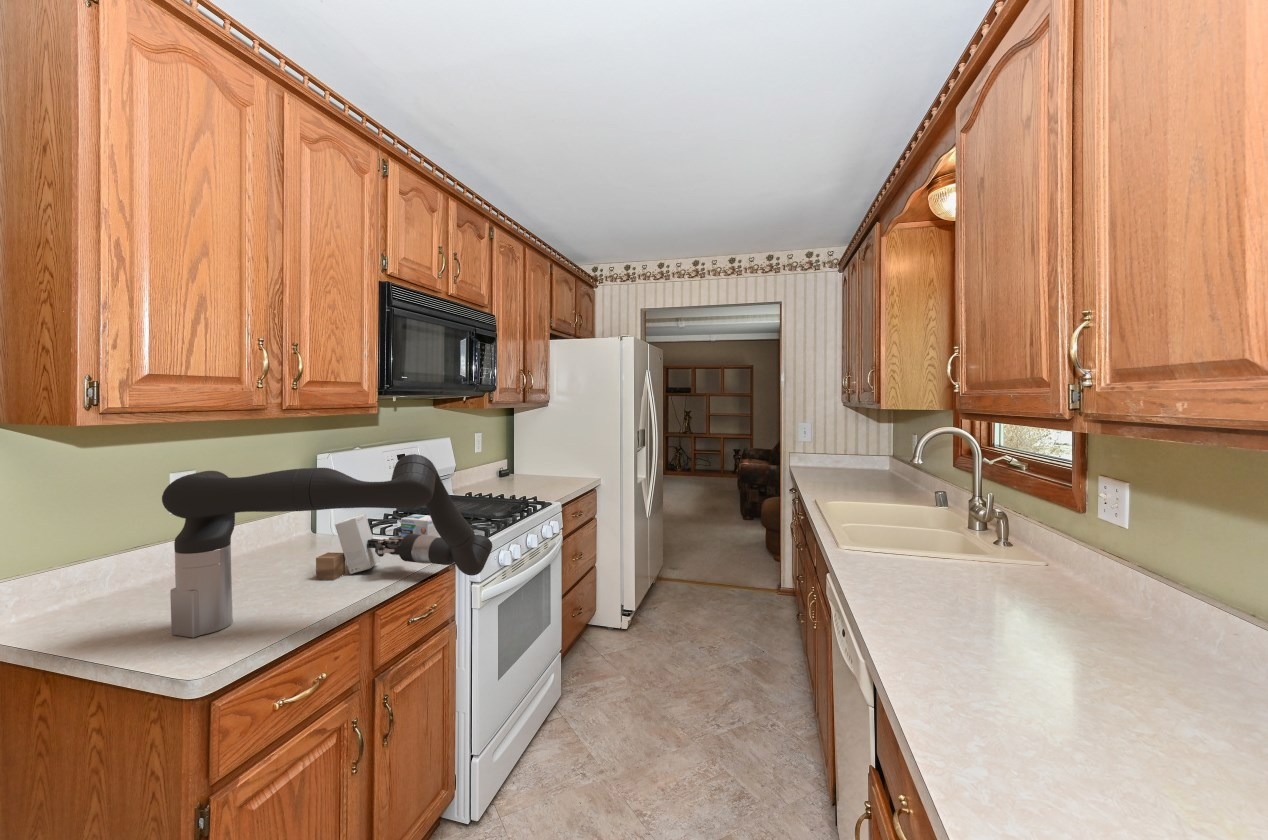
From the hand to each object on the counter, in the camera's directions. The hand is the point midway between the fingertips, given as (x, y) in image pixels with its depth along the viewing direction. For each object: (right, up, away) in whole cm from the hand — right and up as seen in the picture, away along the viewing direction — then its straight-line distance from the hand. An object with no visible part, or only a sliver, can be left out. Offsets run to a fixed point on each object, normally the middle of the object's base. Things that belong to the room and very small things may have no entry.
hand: (369, 543), depth 148 cm
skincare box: (-1, -7, +1) cm, 8 cm away
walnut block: (-8, -8, -5) cm, 12 cm away
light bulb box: (+6, -7, +22) cm, 24 cm away
